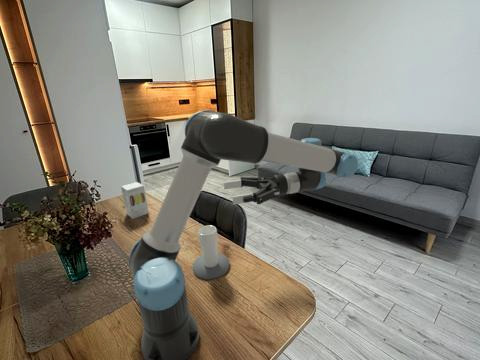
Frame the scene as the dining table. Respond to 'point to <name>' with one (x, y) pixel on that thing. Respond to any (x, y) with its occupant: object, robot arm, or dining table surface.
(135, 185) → the supplement box
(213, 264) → the drinking glass
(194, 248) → the dining table surface
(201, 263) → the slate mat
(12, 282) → the dining table surface
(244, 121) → the robot arm
